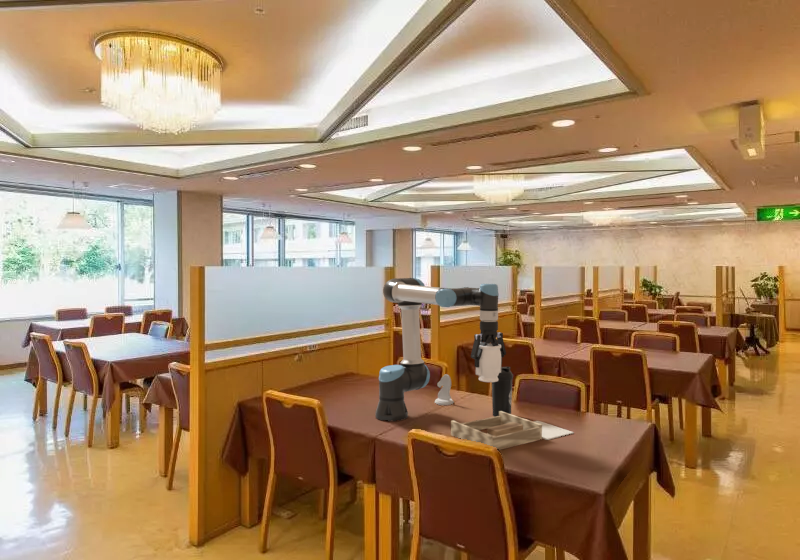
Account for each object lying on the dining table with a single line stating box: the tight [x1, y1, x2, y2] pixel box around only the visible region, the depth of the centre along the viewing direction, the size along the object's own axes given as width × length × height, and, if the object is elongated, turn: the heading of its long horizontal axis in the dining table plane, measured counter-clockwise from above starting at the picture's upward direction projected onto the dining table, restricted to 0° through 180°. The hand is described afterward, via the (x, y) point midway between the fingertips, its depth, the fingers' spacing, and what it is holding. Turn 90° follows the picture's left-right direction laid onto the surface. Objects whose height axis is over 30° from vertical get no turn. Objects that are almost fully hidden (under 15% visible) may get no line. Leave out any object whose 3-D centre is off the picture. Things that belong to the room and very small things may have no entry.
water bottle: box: [491, 366, 514, 417], centre depth 248 cm, size 10×10×23 cm
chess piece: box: [434, 373, 454, 406], centre depth 271 cm, size 10×10×15 cm
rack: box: [450, 411, 543, 451], centre depth 216 cm, size 24×28×6 cm
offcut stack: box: [485, 422, 523, 437], centre depth 212 cm, size 6×18×6 cm, turn 124°
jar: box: [478, 343, 502, 383], centre depth 220 cm, size 11×10×15 cm
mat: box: [533, 420, 575, 441], centre depth 225 cm, size 20×16×1 cm
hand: (488, 373), depth 220 cm, fingers closed on jar, 10 cm apart
